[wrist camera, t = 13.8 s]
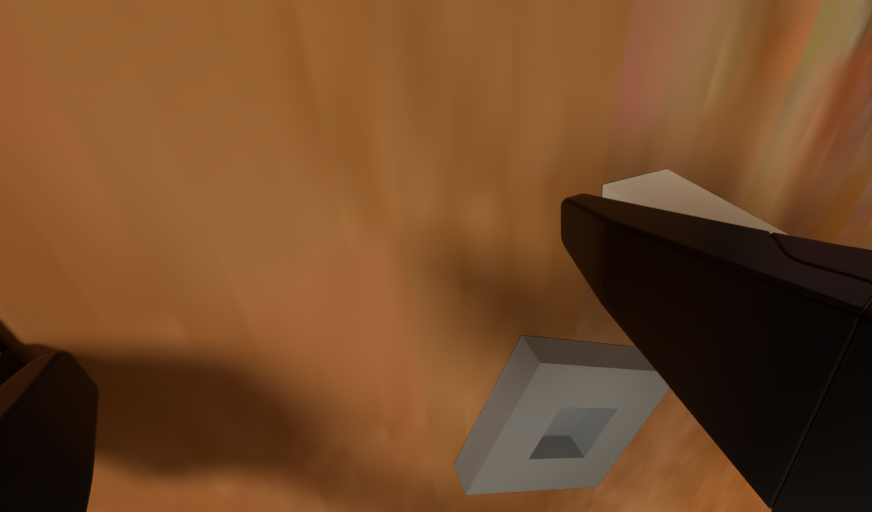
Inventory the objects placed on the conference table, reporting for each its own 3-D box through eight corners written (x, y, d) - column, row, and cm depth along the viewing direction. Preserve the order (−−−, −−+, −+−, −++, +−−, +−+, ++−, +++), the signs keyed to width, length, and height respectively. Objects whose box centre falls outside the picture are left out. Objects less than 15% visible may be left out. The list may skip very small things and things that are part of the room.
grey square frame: (453, 463, 35) (465, 495, 33) (521, 335, 30) (540, 362, 28) (580, 459, 40) (597, 486, 38) (656, 348, 35) (680, 373, 33)
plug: (596, 246, 28) (751, 383, 19) (603, 184, 26) (780, 306, 17) (656, 230, 29) (830, 354, 20) (667, 168, 27) (868, 278, 18)
